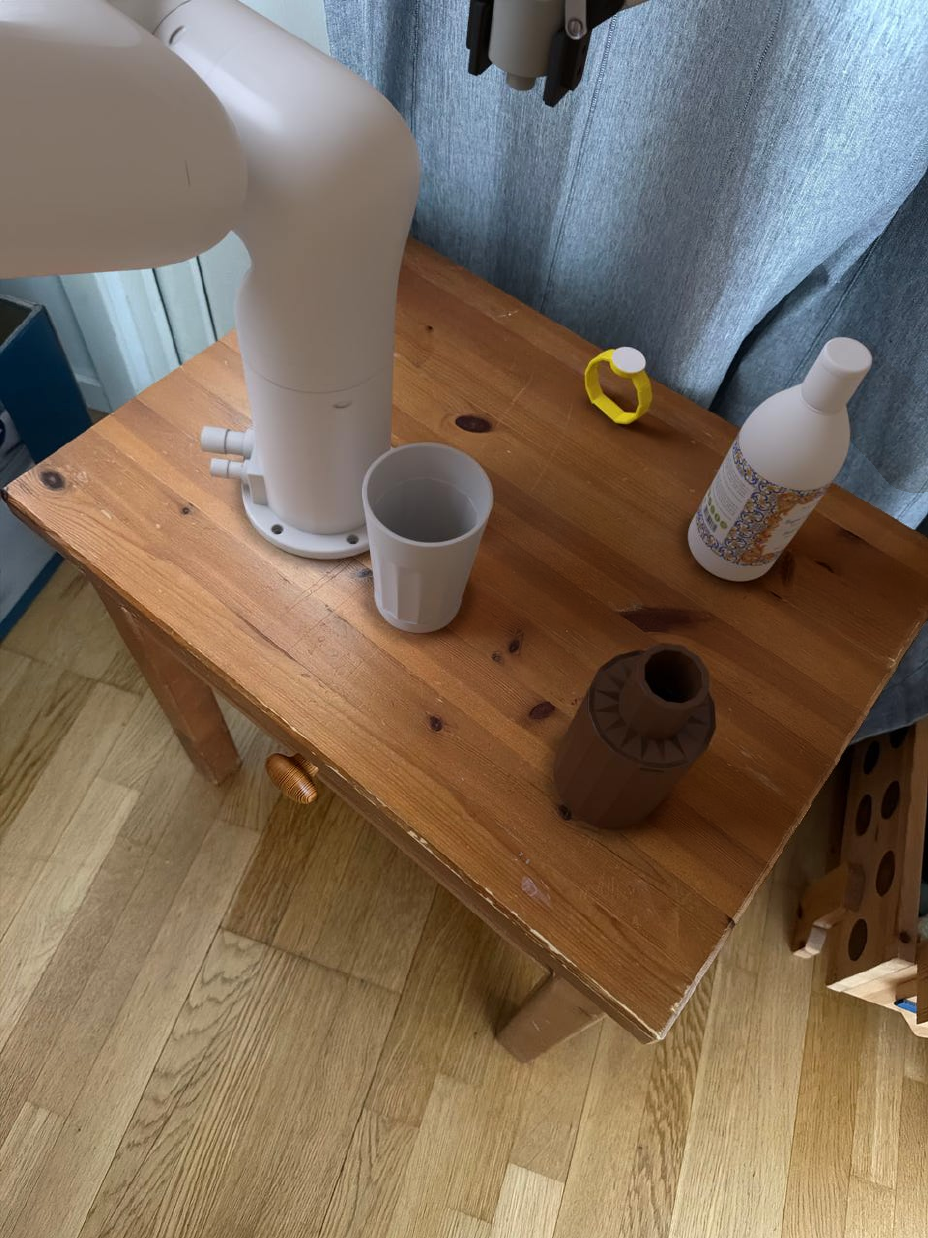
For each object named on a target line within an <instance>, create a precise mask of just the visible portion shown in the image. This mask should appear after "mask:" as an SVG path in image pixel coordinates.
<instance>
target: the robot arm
mask: <svg viewBox="0 0 928 1238" xmlns="http://www.w3.org/2000/svg"><path fill="white" fill-rule="evenodd" d="M649 1H650V0H565V19H564V25H563V27H562V28H561V29H560V30H559V31H558V32H557V33H556V34H555V36H554V39H553V43H552V49H551V55H550V60H549V66H548V71H547V76H545V83H544V89H543V93H542V101H543V102H544V106H548V107H550V108H553V109H554V108H555V107H556V106H557V104H559V102H560V101H562V99H563V98H564V97H565V96H566V95H567V94H568V93H569V92H570V91H571V92H574V91H575V90H576V89H577V88H578V87H579V85H580V83H581V81H582V79H583V75H584V71H585V66H586V62H587V56H588V52H589V48H590V43H591V37H592V33H593V30H594V29H595V28H597V27H599V26H600V25H602V24H603V23H605V22H607V21H608V20H610V19H611V18H613V17H615V16H616V15H617V14H618V13H620V12H623V11H625V10H630V9H631V8H634V7H636V6H637V7H638V6H640V5H642V4H644V3H646V2H647V3H648V2H649ZM493 7H494V0H469V6H468V17H467V27H466V34H465V35H466V36H465V48H466V50H469V56H468V65H467V73H468V74H469V75H472V76H473V77H478V76H481V75H482V74H484V73H485V72H486V71H487V70H488V69H489V68H490V67H491V66H492V65H494V64H493V63H492V61H491V60H490V58H489V55H488V48H489V40H490V31H491V23H492V15H493ZM421 178H422V167H421V159H420V152H419V148H418V144H417V142H416V140H415V137H414V134H413V132H412V129H410V127H409V125H408V123H407V122H406V120H405V118H404V117H403V116H402V115H401V113H400V112H399V111H398V109H396V107H395V106H394V105H393V104H392V102H391V101H389V99H388V98H387V97H386V96H385V95H384V94H382V93H381V92H380V91H379V90H378V89H377V88H376V87H375V86H373V85H372V84H371V83H370V82H369V81H367V80H366V79H365V78H363V77H362V76H360V75H359V74H358V73H356V72H355V71H354V70H352V69H350V68H349V67H348V66H346V65H344V64H342V63H341V62H340V61H338V60H336V59H335V58H334V57H331V56H330V55H328V54H327V53H325V52H323V51H322V50H320V49H319V48H317V47H315V46H314V45H312V44H311V43H309V42H308V41H306V40H305V39H303V38H301V37H299V36H297V35H296V34H294V33H292V32H291V31H288V30H286V29H285V28H283V27H282V26H281V25H278V23H275V22H274V21H272V20H271V19H269V18H267V17H266V16H265V15H262V14H261V13H260V12H258V11H256V10H255V9H253V8H251V7H250V6H249V5H247V4H246V3H244V2H242V1H240V0H0V280H10V279H25V278H39V277H41V278H42V277H54V276H67V275H69V276H70V275H84V274H96V273H97V274H98V273H99V274H100V273H111V272H124V271H125V272H126V271H127V272H129V271H141V270H150V269H151V270H152V269H157V268H162V267H168V266H171V265H176V264H179V263H180V264H181V263H184V262H187V261H189V260H191V259H194V258H196V257H198V256H200V255H202V254H204V253H207V252H208V251H210V250H211V249H212V248H214V247H216V245H218V244H219V243H221V241H222V240H224V239H225V238H226V237H227V236H228V235H229V234H230V232H231V231H232V232H233V234H235V236H237V237H238V238H239V240H240V241H241V243H243V245H244V247H245V249H246V251H247V253H248V255H249V258H250V267H249V268H248V269H247V270H246V272H245V273H244V274H243V276H242V277H241V279H240V280H239V282H238V285H237V288H236V291H235V294H234V304H233V314H234V324H235V325H234V326H235V332H236V338H237V345H238V349H239V351H240V357H241V363H242V369H243V376H244V382H245V387H246V388H245V389H246V393H247V399H248V400H247V401H248V406H249V414H250V418H251V425H252V427H247V429H246V430H245V432H244V431H237V430H230V428H226V427H220V426H211V425H204V426H203V428H202V430H201V435H200V448H201V451H202V452H204V453H210V454H211V453H212V454H219V455H225V456H226V455H233V456H234V455H235V456H241V457H243V459H244V461H243V462H241V461H234V460H232V459H225V458H218V457H212V459H211V460H210V465H209V473H210V476H211V477H212V478H219V479H228V480H229V479H234V480H241V487H240V488H241V496H242V502H243V506H244V511H245V513H246V516H247V517H248V519H249V521H250V524H251V525H252V526H253V528H254V529H255V530H256V531H257V532H258V533H259V534H260V536H262V538H263V539H265V540H266V541H268V542H269V543H270V544H272V545H273V546H274V547H276V548H278V549H280V550H283V551H284V552H286V553H288V554H291V555H295V556H298V557H302V558H305V559H306V558H307V559H313V560H314V559H316V560H339V559H345V558H349V557H354V556H357V555H360V554H362V553H365V552H368V551H370V546H369V538H368V530H367V524H366V517H365V511H364V504H363V497H362V487H363V482H364V479H365V476H366V474H367V472H368V470H369V468H370V467H371V466H372V464H373V463H374V462H375V461H376V460H377V459H378V458H379V457H380V456H382V455H383V454H385V453H386V452H388V451H390V450H392V449H394V448H395V447H394V446H392V422H393V421H392V420H393V394H394V393H393V392H394V391H393V390H394V366H395V365H394V362H395V334H396V333H395V332H396V311H397V297H398V294H397V293H398V287H399V279H400V273H401V268H402V261H403V257H404V252H405V248H406V244H407V240H408V236H409V233H410V229H411V225H412V222H413V218H414V215H415V212H416V207H417V203H418V198H419V195H420V188H421Z"/></svg>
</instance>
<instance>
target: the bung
mask: <svg viewBox="0 0 928 1238" xmlns="http://www.w3.org/2000/svg"><path fill="white" fill-rule="evenodd" d="M564 19H565V0H494V7H493V15H492V23H491V31H490V40H489V48H488V55H489V58H490V60H491V61H492V63H493V64H492V65H494V66H495V67H496V68H498V69H499V70H501V71H503V72H504V73H506V77H505V82H506V84H507V85H508V87H510V88H511V89H514V90H516V91H520V92H521V91H522V92H527V91H530V90H533V89H534V88H535V86H536V83H537V78H546V77H547V71H548V66H549V60H550V55H551V49H552V43H553V39H554V36H555V34H556V33H557V32H558V31H559V30H560V29H561V28H562V27H563V25H564Z"/></svg>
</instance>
